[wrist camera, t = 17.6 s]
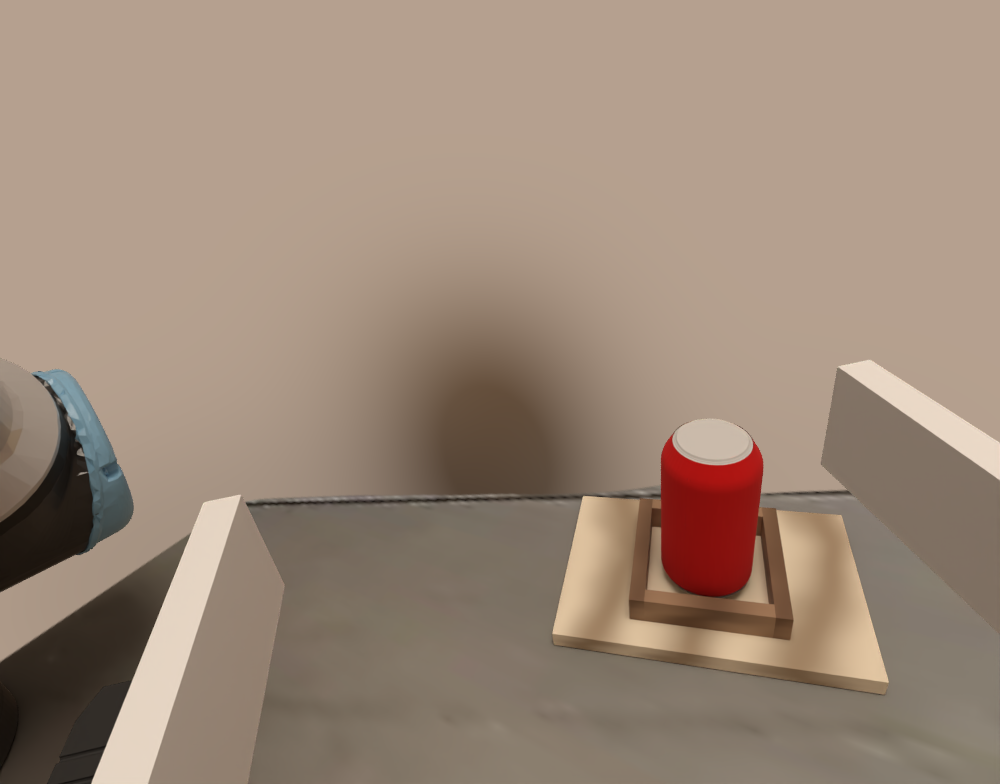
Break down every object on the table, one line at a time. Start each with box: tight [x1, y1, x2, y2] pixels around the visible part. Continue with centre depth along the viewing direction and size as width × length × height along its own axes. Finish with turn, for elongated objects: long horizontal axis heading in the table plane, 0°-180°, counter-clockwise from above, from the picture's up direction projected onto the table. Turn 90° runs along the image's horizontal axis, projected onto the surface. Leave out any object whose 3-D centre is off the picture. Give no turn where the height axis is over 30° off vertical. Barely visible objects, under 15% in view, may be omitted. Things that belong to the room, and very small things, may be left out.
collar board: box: [552, 496, 889, 695], centre depth 43 cm, size 20×14×3 cm
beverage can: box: [661, 419, 763, 598], centre depth 40 cm, size 6×6×12 cm
